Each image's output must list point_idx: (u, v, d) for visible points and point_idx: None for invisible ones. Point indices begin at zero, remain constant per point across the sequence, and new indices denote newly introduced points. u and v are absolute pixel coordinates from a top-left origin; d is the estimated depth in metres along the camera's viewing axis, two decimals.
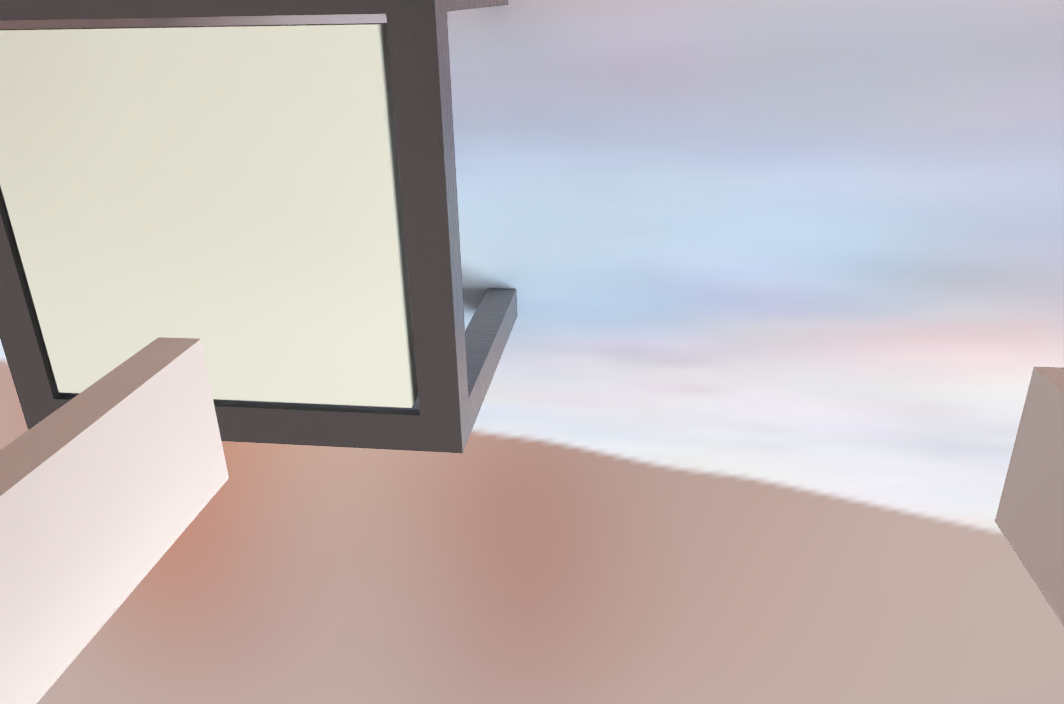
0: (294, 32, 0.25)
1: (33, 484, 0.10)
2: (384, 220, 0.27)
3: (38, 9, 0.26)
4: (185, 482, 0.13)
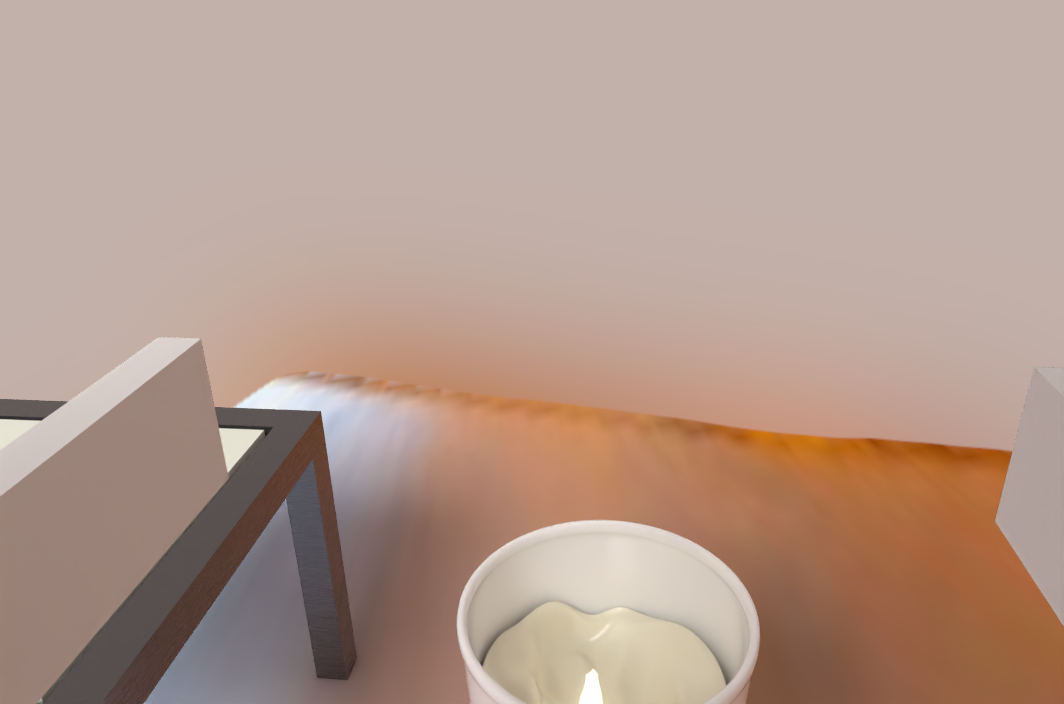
0: None
1: (33, 484, 0.10)
2: None
3: (245, 470, 0.31)
4: (185, 482, 0.13)
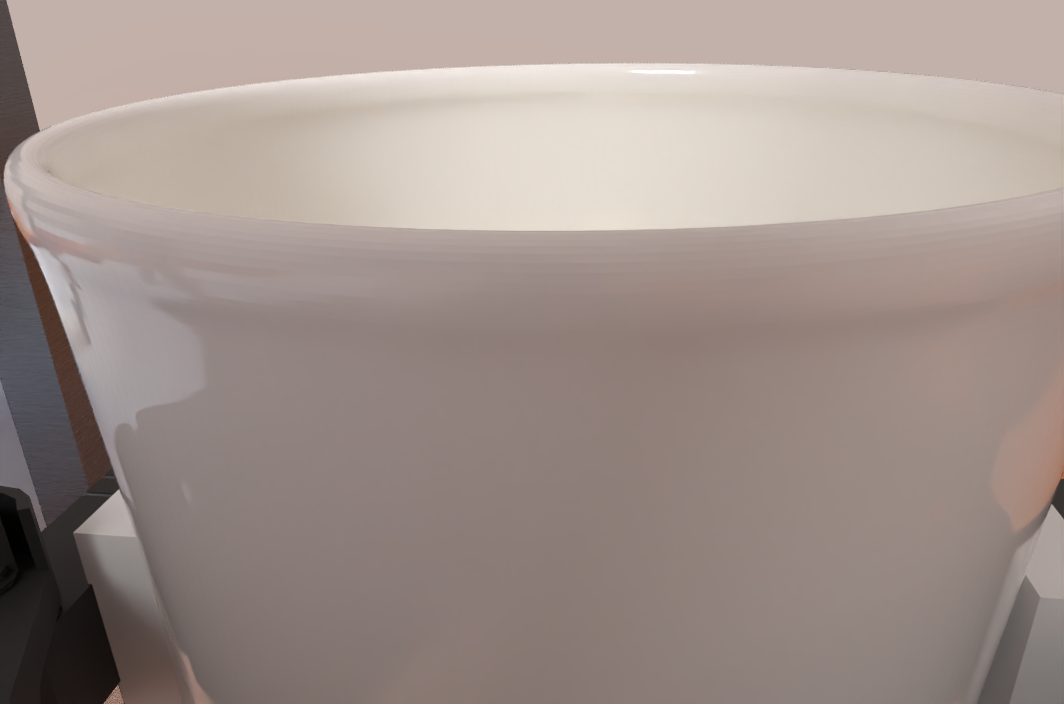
0: None
1: None
2: None
3: None
4: None
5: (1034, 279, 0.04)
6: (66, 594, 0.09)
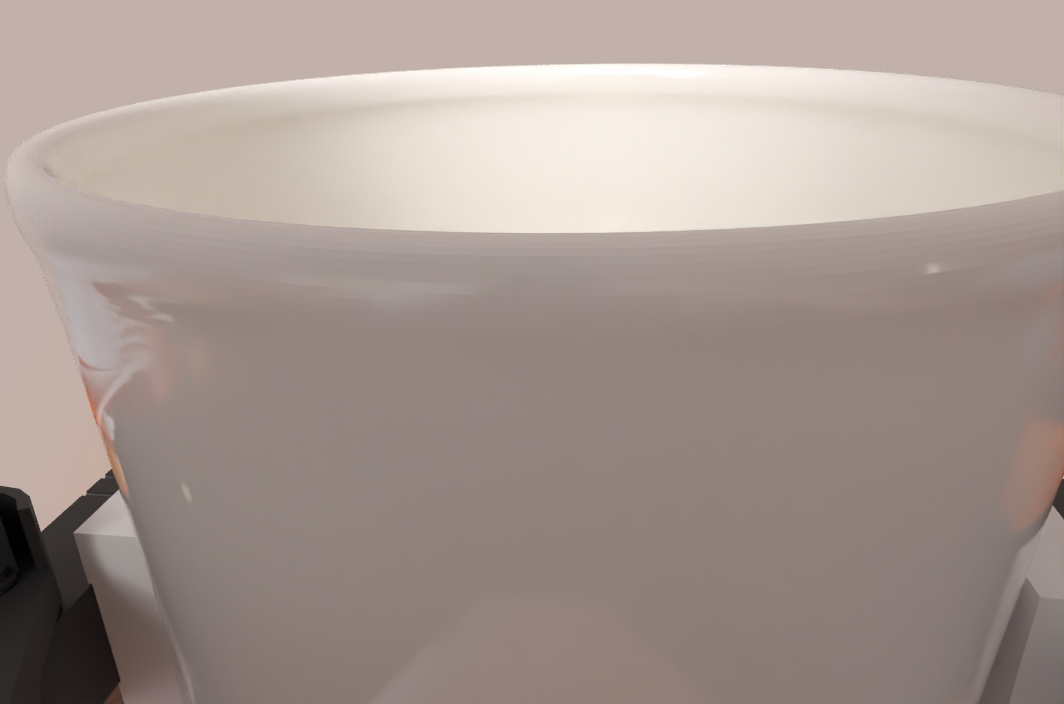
0: None
1: None
2: None
3: None
4: None
5: (1035, 281, 0.04)
6: (66, 594, 0.09)
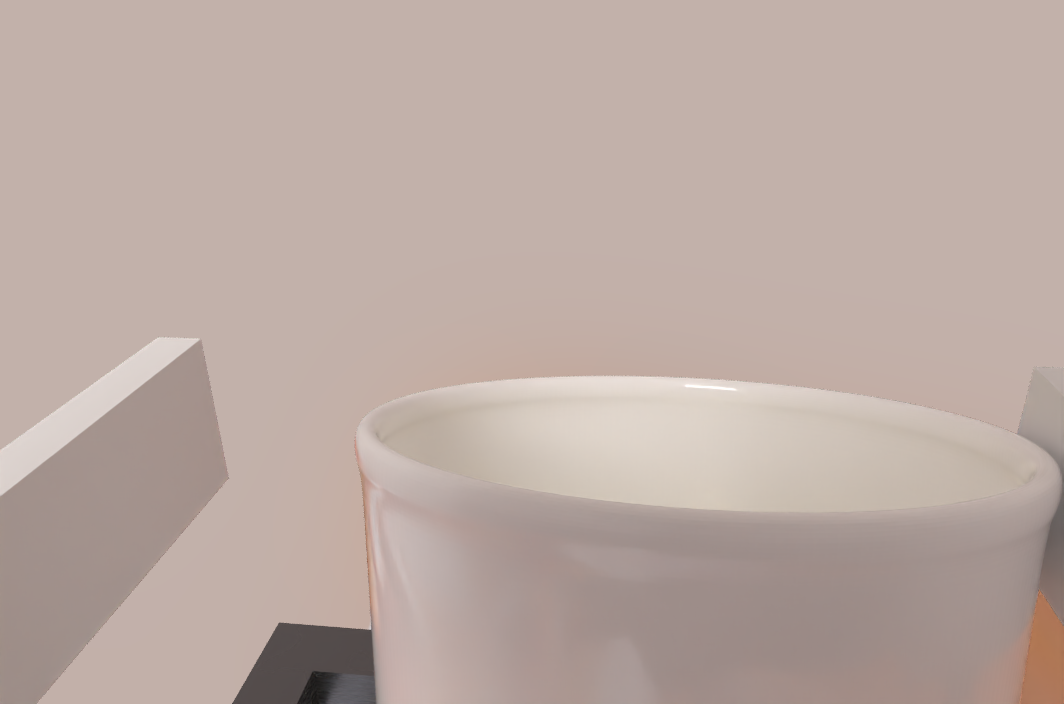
0: None
1: (33, 484, 0.10)
2: None
3: None
4: (185, 482, 0.13)
5: (910, 554, 0.08)
6: None
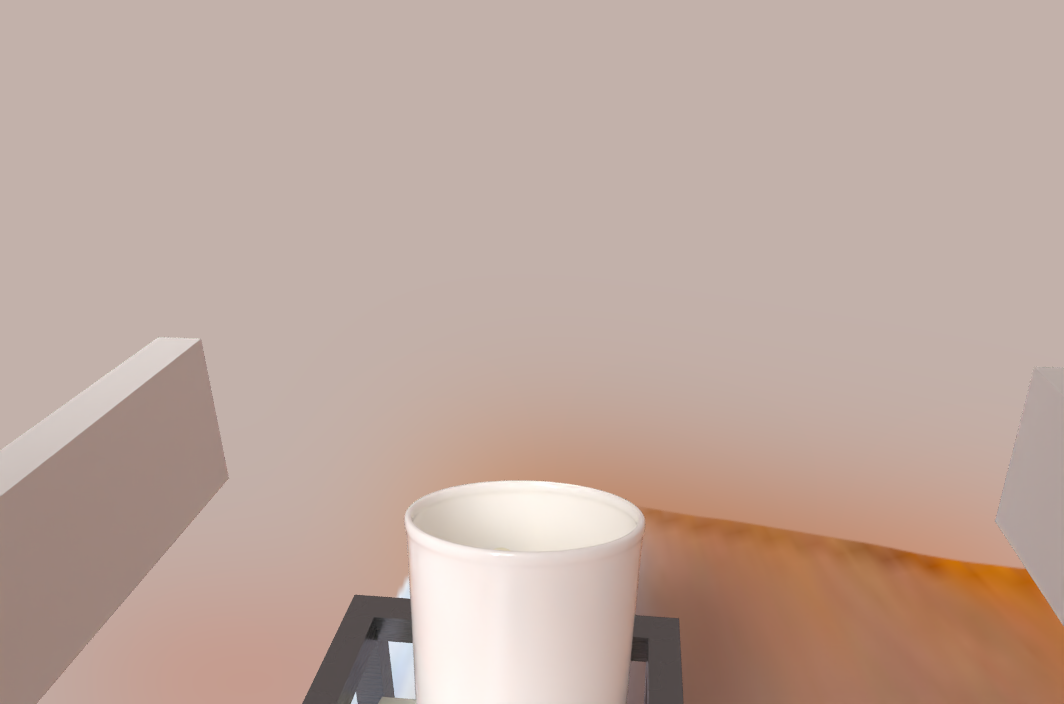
0: None
1: (33, 484, 0.10)
2: None
3: (655, 693, 0.36)
4: (185, 482, 0.13)
5: (561, 563, 0.29)
6: None
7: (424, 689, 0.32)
